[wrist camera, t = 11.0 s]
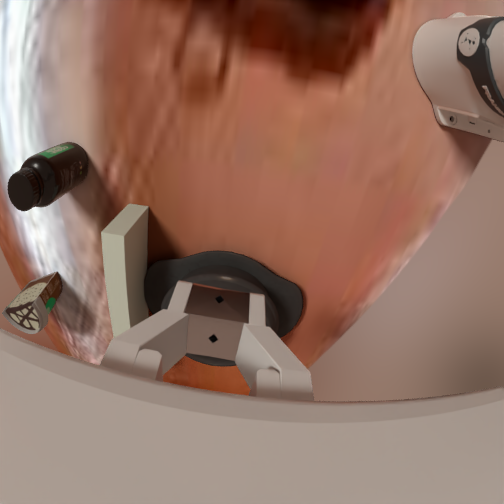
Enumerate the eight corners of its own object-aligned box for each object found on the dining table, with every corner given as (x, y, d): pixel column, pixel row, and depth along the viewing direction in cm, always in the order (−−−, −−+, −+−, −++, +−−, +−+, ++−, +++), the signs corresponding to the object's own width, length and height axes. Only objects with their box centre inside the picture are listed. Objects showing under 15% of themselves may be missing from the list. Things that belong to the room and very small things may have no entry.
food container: (42, 306, 50) (19, 338, 42) (26, 282, 47) (0, 313, 39) (79, 296, 48) (55, 333, 40) (62, 269, 45) (33, 304, 37)
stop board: (148, 206, 40) (124, 236, 32) (149, 337, 52) (136, 374, 45) (129, 203, 39) (101, 232, 32) (134, 333, 52) (120, 369, 44)
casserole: (316, 259, 44) (327, 294, 36) (285, 345, 53) (288, 382, 45) (146, 230, 42) (125, 260, 34) (148, 323, 51) (134, 357, 43)
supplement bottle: (70, 131, 34) (16, 151, 23) (98, 165, 37) (49, 195, 26) (47, 163, 36) (-5, 190, 26) (72, 194, 39) (25, 230, 28)
